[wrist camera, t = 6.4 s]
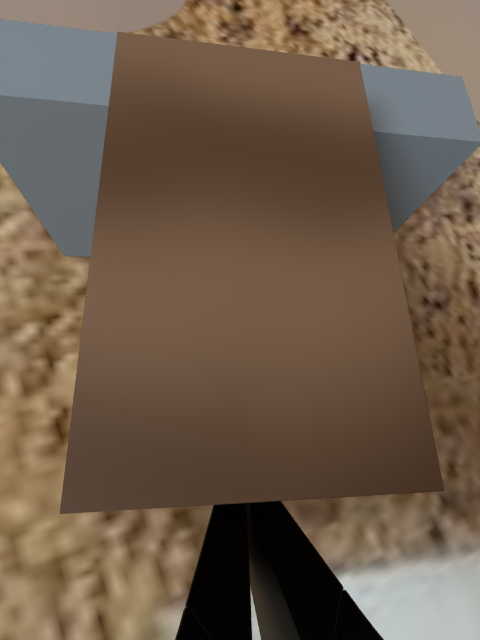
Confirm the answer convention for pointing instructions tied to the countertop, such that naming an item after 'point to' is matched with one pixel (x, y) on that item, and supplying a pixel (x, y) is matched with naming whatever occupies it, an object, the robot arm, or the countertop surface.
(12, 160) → the slate board
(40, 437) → the countertop surface
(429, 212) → the countertop surface
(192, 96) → the walnut box
